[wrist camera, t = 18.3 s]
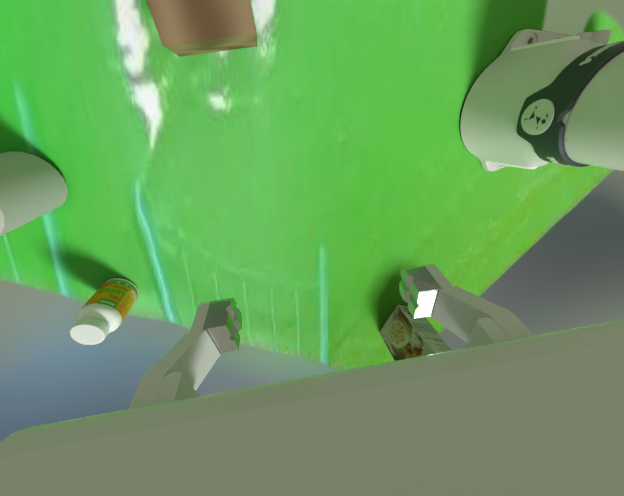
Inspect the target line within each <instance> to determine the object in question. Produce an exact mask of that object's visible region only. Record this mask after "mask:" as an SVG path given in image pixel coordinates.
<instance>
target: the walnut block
mask: <svg viewBox="0 0 624 496" xmlns="http://www.w3.org/2000/svg"><path fill="white" fill-rule="evenodd" d="M147 2H148V5H149V8H150V10H151V13H152V16H153V19H154V22H155V25H156V28H157V30H158V33H159V36H160V39H161V42H162V45H163V46H165V47H166V48H168V49H169V50H171V51H172V52H174V53H176V54H177V55H179V56H187V55H194V54H202V53H209V52H217V51H224V50H231V49H239V48H246V47H254V46H257V34H256V28H255V23H254V18H253V12H252V7H251V2H250V0H147Z"/></svg>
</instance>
